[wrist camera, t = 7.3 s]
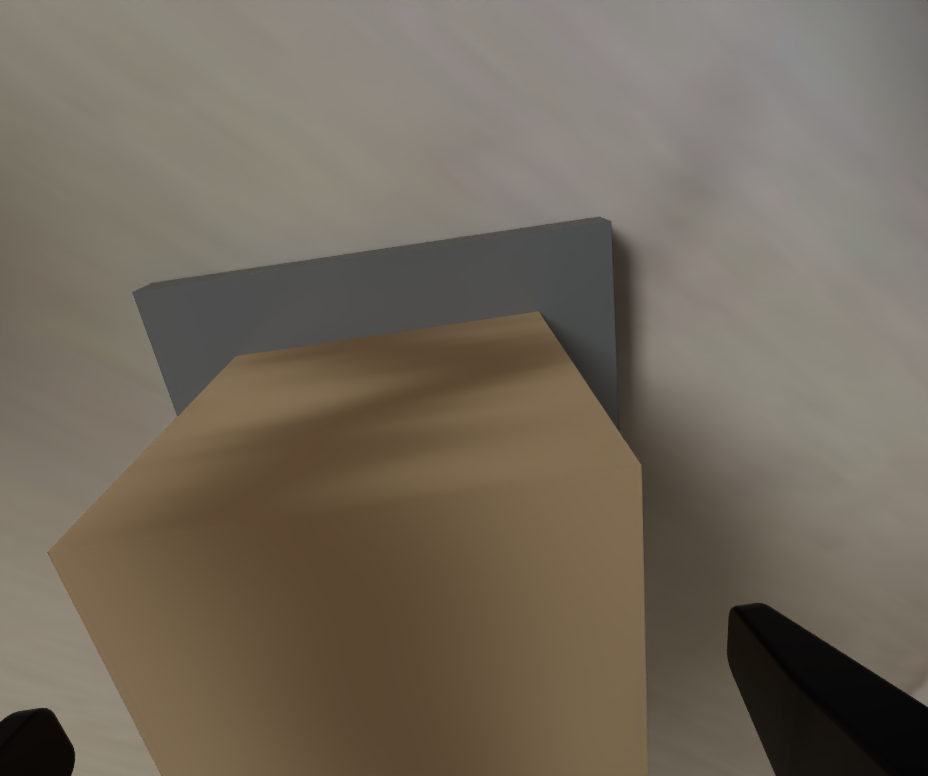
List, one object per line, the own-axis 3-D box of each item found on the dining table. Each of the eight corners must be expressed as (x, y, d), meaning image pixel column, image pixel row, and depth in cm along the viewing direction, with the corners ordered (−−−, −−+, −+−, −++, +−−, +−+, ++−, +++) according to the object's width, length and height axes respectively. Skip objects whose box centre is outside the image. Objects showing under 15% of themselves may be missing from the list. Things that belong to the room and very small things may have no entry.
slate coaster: (599, 217, 11) (611, 221, 11) (616, 575, 15) (625, 597, 14) (151, 282, 11) (131, 292, 11) (270, 625, 15) (262, 650, 14)
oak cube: (538, 311, 11) (641, 465, 6) (560, 557, 14) (650, 837, 8) (235, 355, 11) (48, 551, 6) (308, 594, 14) (223, 898, 8)
